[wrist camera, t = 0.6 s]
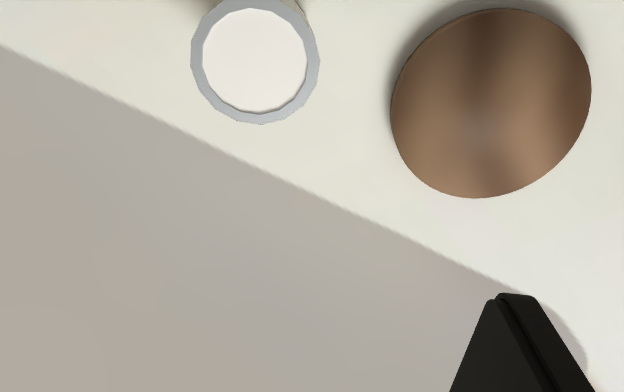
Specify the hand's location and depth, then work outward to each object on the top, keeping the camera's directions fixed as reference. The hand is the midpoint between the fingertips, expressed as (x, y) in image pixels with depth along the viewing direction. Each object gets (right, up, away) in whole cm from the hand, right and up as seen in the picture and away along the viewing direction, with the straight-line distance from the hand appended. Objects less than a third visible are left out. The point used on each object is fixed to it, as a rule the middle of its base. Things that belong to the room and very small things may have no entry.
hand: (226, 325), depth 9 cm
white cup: (-1, +13, +24) cm, 27 cm away
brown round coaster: (+13, +8, +26) cm, 31 cm away
